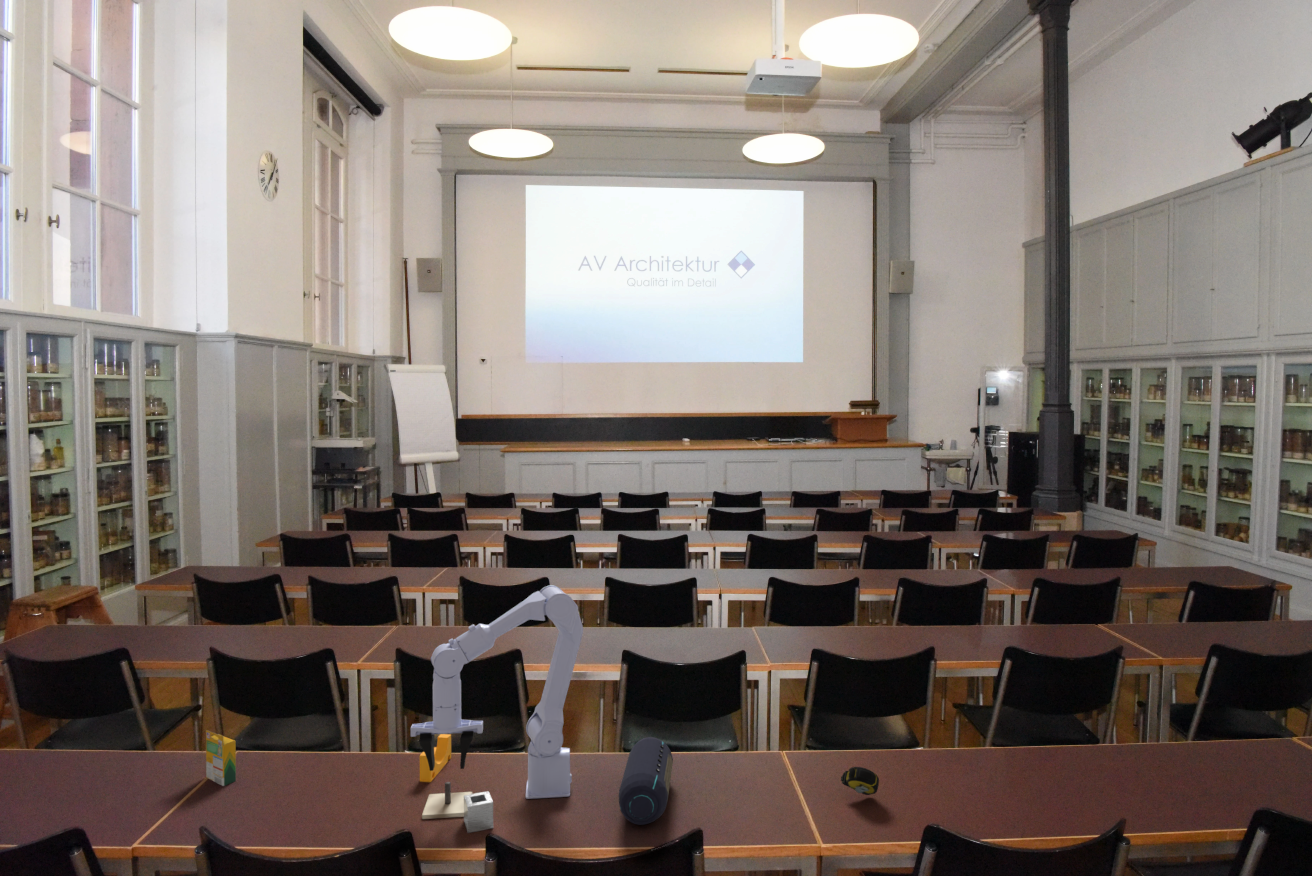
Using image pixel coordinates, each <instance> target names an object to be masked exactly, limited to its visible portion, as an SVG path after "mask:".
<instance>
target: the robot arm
mask: <svg viewBox="0 0 1312 876" xmlns="http://www.w3.org/2000/svg"><path fill="white" fill-rule="evenodd" d="M545 616H546V617H547V618H548V619H549V620H551V622H552V623H553V625H554V626H555V628H556V629H557V630H558V634H557V639H556V642H555V646H554V649H553V653H552V657H551V660H550V664H549V668H548V672H547V676H546V679H545V682H544V683H545V684H544V687H543V691H542V695H541V699H540V701H539V703H538V704H536V706H535V707H534V712H533V713H532V715H531V716H530V718H529V719H528V721H527V723H526V726H525V731H526V734H527V736H528V737H529V739H530V742H529V745H528V747H527V780H526V787H525V788H526V789H525V799H526V800H528V799H531V800H533V799H535V800H536V799H548V798H563V797H570V796H571V783H572V782H573V781H572V780H573V779H572V777H573V776H572V773H571V748H570V747H562V746H563V744H564V734H563V726H564V712H563V710H564V705H565V702H566V698H567V694H568V690H569V687H570V683H571V680H572V675H573V672H574V668H575V664H576V661H577V656H578V652H579V649H580V645H581V642H582V639H583V634H584V625H583V623H582V619H581V615H580V613H579V606H578V605H577V603H576V602H575V600H573V598H572V597H571V596H570V595H569V594H567V593H565V592H564V591H563V589H561V587H559V586H556V585H553V584H551V585H550V584H549V585H547V586H546V585H545V586H544V587H542V588H541V589H540V590H537V591H534V592H533V593H531V594H530V595H528V597H527V598H525V599H524V600H523V601H520V602H519V603H518V604H516V605H515V606H514V607H512V608H510V609H509V610H507V611H506V612H505V613H503V614H502V615H499V617H497V618H496V619H495V620H493V621H491V622H490V623H489V624H484V623H478V624H477V625H475V624H473V623H472V624H471V625H469V626H468V630H467V631H465V632H463V633H462V634H460V635H458V636H457V637H455V638H454V639H453V638H450V639H448V643H442V644H439V645H438V646H437V647H435V648H434V650H433V652H432V654H431V657H430V662H431V664H432V666H433V674H432V680H433V681H432V721H425V722H422V723H421V722H420V723H412V724H411V726H410V737H411V738H412V737H417V736H419V739H418V744H419V745H420V747H421V748H422V750H423V751H422V752H424V753H425V755H426V757H427V760H428V764H429V769H430V771H433V769H434V767H435V757H434V747H435V735H440V734H451V735H452V734H461V735H460V738H459V743H460V764H459V766H460V768H459V769H460V770H464V769H465V766H466V758H467V753H468V751H469V748H470V746H471V743H472V740H473V739H474V735H475V733H477V734H483V732H484V731H483V730H484V720H471V719H462V680H461V671H462V670H463V667H464V665H466V664H469V663H470V662H472V661H474V660H475V659H476V658H478V657H480V656H481V655H482V654H484V653H486V652H487V651H489V650H490V649H492V648H493V647H494V646H495V642H496V640H497V638H499V637H501V636H503V635H504V634H506V633H508V632H510V631H512V630H513V629H515V628H517V627H518V626H520V625H522V624H524V623H526V622H527V621H530V620H531V621H532V620H533V621H541V622H542V621H543V622H544V621H546V617H545Z"/></svg>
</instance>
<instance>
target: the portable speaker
mask: <svg viewBox="0 0 1312 876" xmlns="http://www.w3.org/2000/svg"><path fill="white" fill-rule="evenodd" d="M673 763H674V757H673V754H672V751H671V749H670V747H669V746H668V745H667V744H666V742H664V741H663V740H661V739H659V738H657V737H652V736H646V737H643V738H641V739H640V740H638V741H637V742H636V743H635V744H634V745H633V746H632V748H631V750H630V752H629V754H628V757H627V761H626V764H625V765H626V766H625V768H624V772H623V774H622V778H621V783H620V787H619V791H618V803H619V810H620V813H621V814H622V816H623V817H624V818H625V820H627V821H628V822H629V823H631V824H635V825H640V826H643V825H647V824H650V823H654V822H655V821H657V820H658V819H659V818H660V817H662V815H663V814H664V812H665V810H666V808H667V805H668V799H669V791H670V785H671V778H672V770H673Z"/></svg>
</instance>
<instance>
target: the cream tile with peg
mask: <svg viewBox="0 0 1312 876" xmlns="http://www.w3.org/2000/svg"><path fill="white" fill-rule="evenodd" d="M451 788H452V786H451V782H450V781H446V782H444V792H443V793H441V792H440V793H429V794H428V797H427V800H426V803H425V805H424V808H423V811H422V815H421V819H422V820H429V819H431V820H432V819H444V818H446V819H447V818H461V817H463V818H464V795H469V794H473V791H464V792H463V791H460V792H451V791H452V789H451Z"/></svg>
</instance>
